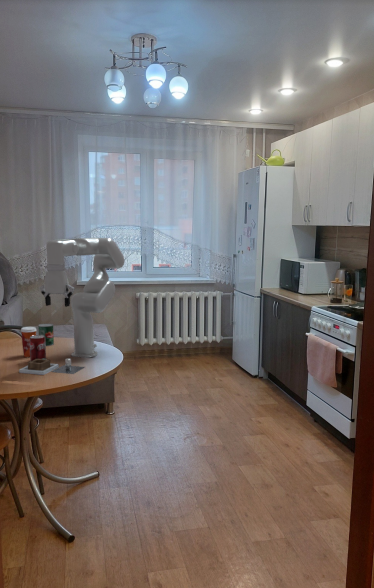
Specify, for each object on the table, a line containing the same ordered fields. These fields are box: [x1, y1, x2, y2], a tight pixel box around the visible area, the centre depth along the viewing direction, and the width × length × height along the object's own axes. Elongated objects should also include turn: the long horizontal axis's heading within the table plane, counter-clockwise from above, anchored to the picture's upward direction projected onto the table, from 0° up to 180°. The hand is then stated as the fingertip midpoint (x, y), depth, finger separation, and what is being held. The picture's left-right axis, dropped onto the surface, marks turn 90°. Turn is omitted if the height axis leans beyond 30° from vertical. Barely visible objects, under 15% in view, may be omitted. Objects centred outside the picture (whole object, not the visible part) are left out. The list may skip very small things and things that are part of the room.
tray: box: [18, 363, 60, 376], centre depth 208 cm, size 12×12×2 cm
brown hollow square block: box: [27, 358, 51, 371], centre depth 208 cm, size 7×8×4 cm
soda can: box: [29, 334, 47, 362], centre depth 225 cm, size 7×7×12 cm
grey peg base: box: [50, 357, 86, 375], centre depth 208 cm, size 11×11×6 cm
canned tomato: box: [37, 323, 55, 347], centre depth 259 cm, size 8×8×11 cm
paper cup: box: [20, 326, 37, 358], centre depth 236 cm, size 8×8×14 cm
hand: (57, 305), depth 215 cm, fingers open, 9 cm apart
